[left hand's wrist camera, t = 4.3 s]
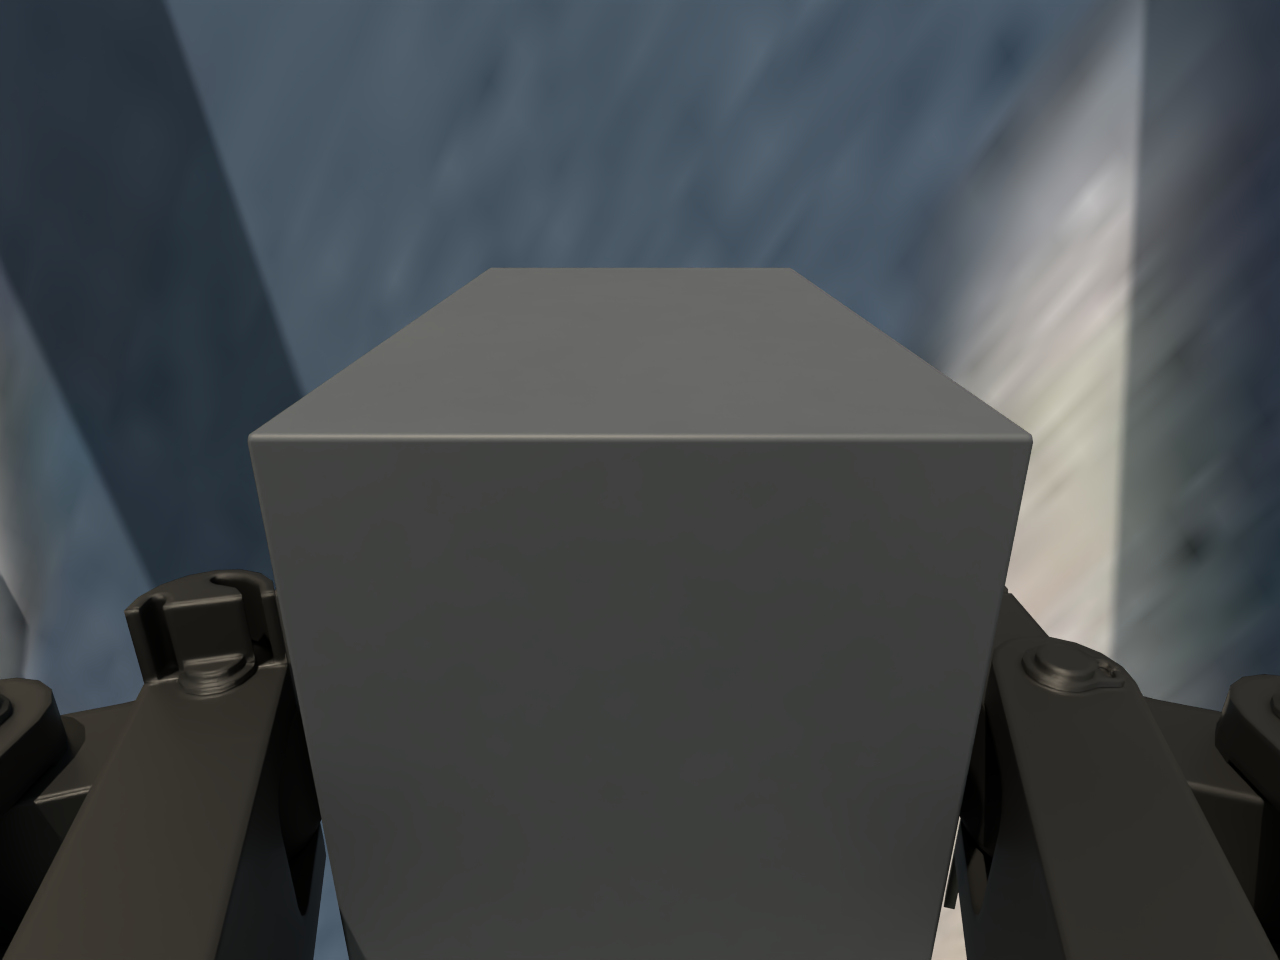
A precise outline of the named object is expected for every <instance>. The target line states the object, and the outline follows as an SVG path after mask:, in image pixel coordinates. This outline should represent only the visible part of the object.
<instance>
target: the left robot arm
mask: <svg viewBox="0 0 1280 960" xmlns="http://www.w3.org/2000/svg"><path fill="white" fill-rule="evenodd" d="M124 613H125V617H126V620H127V624H128V627H129V631H130V634H131V638H132V641H133V645H134V648H135V652H136V656H137V659H138V663H139V666H140V670H141V673H142V677H143V680H144V685H143V687H142V689H141V691H140V693H139V695H138V697H137V699H136V700H135V701H131V702H127V703H123V704H117V705H112V706H107V707H102V708H96V709H91V710H86V711H81V712H75V713H70V714H65V715H60V713H59V710H58V707H57V704H56V701H55V698H54V695H53V692H52V689H51V688H49V687H48V686H46V685H45V684H43V683H42V682H41V681H39V680H31V679H23V678H11V679H2V680H0V960H313V957H314V949H315V941H316V933H317V925H318V917H319V909H320V901H321V893H322V885H323V877H324V869H325V860H326V852H325V845H324V839H323V834H322V829H321V824H320V821H321V819H322V818H321V813H320V808H319V803H318V798H317V793H316V788H315V783H314V778H313V773H312V767H311V762H310V757H309V752H308V747H307V742H306V737H305V732H304V727H303V722H302V717H301V711H300V706H299V701H298V696H297V691H296V686H295V681H294V676H293V671H292V666H291V661H290V655H289V650H288V645H287V640H286V635H285V630H284V625H283V620H282V615H281V610H280V604H279V599H278V594H277V589H275V591H274V586H273V581H271V580H270V579H269V578H267V577H266V576H264V575H263V574H261V573H257V572H252V571H247V570H242V569H239V570H214V571H209V572H204V573H198V574H193V575H188V576H185V577H182V578H179V579H176V580H173V581H170V582H168V583H165V584H162V585H160V586H158V587H156V588H154V589H152V590H150V591H149V592H147V593H145V594H143V595H141V596H140V597H138V598H137V599H136V600H135V601H134V602H133V603H132V604H131V605H130V606H129V607H128V608H127V609H126V610H125V611H124ZM959 816H960V818H961V819H960V824H959V829H958V834H957V839H956V844H955V849H954V854H953V859H952V864H951V869H950V874H949V879H948V884H947V889H946V896H945V902H944V907H947V908H951V909H955V905H956V900H957V895H958V893H959V899H960V907H961V915H962V923H963V931H964V939H965V947H966V955H967V960H1280V676H1276V675H1268V674H1263V675H1254V676H1246V677H1242V678H1241V679H1239V680H1238V681H1236V682H1235V683H1233V684H1232V685H1231V686H1230V689H1229V692H1228V695H1227V698H1226V701H1225V704H1224V707H1223V710H1222V712H1219V711H1214V710H1208V709H1203V708H1198V707H1193V706H1187V705H1182V704H1177V703H1171V702H1166V701H1161V700H1156V699H1152V698H1148V697H1144V696H1143V695H1142V693H1141V691H1140V690H1139V688H1138V686H1137V684H1136V682H1135V681H1134V680H1133V679H1132V677H1131V676H1130V675H1129V674H1128V673H1127V671H1126V670H1125V669H1124V668H1123V667H1122V666H1120V665H1119V664H1117V663H1116V662H1114V661H1113V660H1111V659H1110V658H1108V657H1107V656H1105V655H1104V654H1102V653H1100V652H1097V651H1095V650H1092V649H1090V648H1088V647H1085V646H1083V645H1080V644H1078V643H1075V642H1070V641H1066V640H1061V639H1057V638H1052V637H1049V636H1048V635H1047V634H1046V633H1045V632H1044V630H1043V629H1042V628H1041V627H1040V626H1039V625H1038V623H1037V622H1036V621H1035V620H1034V619H1033V618H1032V617H1031V615H1030V614H1029V613H1028V612H1027V611H1026V610H1025V608H1024V607H1023V606H1022V605H1021V604H1020V603H1019V601H1018V600H1017V599H1016V598H1015V597H1014V596H1013V595H1012V593H1008V589H1007V588H1006V586H1005V587H1004V592H1003V597H1002V602H1001V607H1000V612H999V617H998V622H997V627H996V632H995V637H994V642H993V648H992V653H991V658H990V663H989V668H988V673H987V678H986V683H985V688H984V693H983V698H982V703H981V709H980V714H979V719H978V724H977V729H976V734H975V739H974V744H973V749H972V754H971V759H970V764H969V770H968V775H967V780H966V785H965V790H964V795H963V800H962V805H961V810H960V815H959Z"/></svg>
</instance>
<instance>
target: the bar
mask: <svg viewBox="0 0 1280 960" xmlns="http://www.w3.org/2000/svg"><path fill="white" fill-rule="evenodd" d="M1032 444H1033V439H1032V435H1031V434H1029V433H1028V432H1027V431H1025V430H1024V429H1022V428H1021V427H1019V426H1018V425H1016V424H1015V423H1014V422H1012V421H1011V420H1009V419H1008V418H1006V417H1005V416H1003V415H1002V414H1001V413H999V412H998V411H996V410H995V409H993V408H992V407H991V406H989V405H988V404H986V403H985V402H983V401H982V400H980V399H979V398H978V397H976V396H975V395H973V394H972V393H970V392H969V391H967V390H966V389H965V388H963V387H962V386H960V385H959V384H957V383H956V382H954V381H953V380H952V379H950V378H949V377H947V376H946V375H944V374H943V373H941V372H940V371H939V370H937V369H936V368H934V367H933V366H931V365H930V364H928V363H927V362H926V361H924V360H923V359H921V358H920V357H918V356H917V355H915V354H914V353H913V352H911V351H910V350H908V349H907V348H905V347H904V346H902V345H901V344H900V343H898V342H897V341H895V340H894V339H892V338H891V337H889V336H888V335H887V334H885V333H884V332H882V331H881V330H879V329H878V328H876V327H875V326H874V325H872V324H871V323H869V322H868V321H866V320H865V319H863V318H862V317H861V316H859V315H858V314H856V313H855V312H853V311H852V310H850V309H849V308H848V307H846V306H845V305H843V304H842V303H840V302H839V301H837V300H836V299H835V298H833V297H832V296H830V295H829V294H827V293H826V292H824V291H823V290H822V289H820V288H819V287H817V286H816V285H814V284H813V283H811V282H810V281H809V280H807V279H806V278H804V277H803V276H801V275H800V274H798V273H797V272H796V271H794V270H793V269H791V268H490V269H488V270H487V271H485V272H484V273H482V274H481V275H479V276H478V277H477V278H475V279H474V280H472V281H471V282H469V283H468V284H466V285H465V286H464V287H462V288H461V289H459V290H458V291H456V292H455V293H453V294H452V295H450V296H449V297H448V298H446V299H445V300H443V301H442V302H440V303H439V304H437V305H436V306H435V307H433V308H432V309H430V310H429V311H427V312H426V313H424V314H423V315H422V316H420V317H419V318H417V319H416V320H414V321H413V322H411V323H410V324H409V325H407V326H406V327H404V328H403V329H401V330H400V331H398V332H397V333H395V334H394V335H393V336H391V337H390V338H388V339H387V340H385V341H384V342H382V343H381V344H380V345H378V346H377V347H375V348H374V349H372V350H371V351H369V352H368V353H367V354H365V355H364V356H362V357H361V358H359V359H358V360H356V361H355V362H353V363H352V364H351V365H349V366H348V367H346V368H345V369H343V370H342V371H340V372H339V373H338V374H336V375H335V376H333V377H332V378H330V379H329V380H327V381H326V382H325V383H323V384H322V385H320V386H319V387H317V388H316V389H314V390H313V391H312V392H310V393H309V394H307V395H306V396H304V397H303V398H301V399H300V400H298V401H297V402H296V403H294V404H293V405H291V406H290V407H288V408H287V409H285V410H284V411H283V412H281V413H280V414H278V415H277V416H275V417H274V418H272V419H271V420H270V421H268V422H267V423H265V424H264V425H262V426H261V427H259V428H258V429H256V430H255V431H254V432H252V433H251V434H249V437H248V447H249V452H250V457H251V462H252V467H253V472H254V477H255V482H256V487H257V492H258V498H259V503H260V508H261V513H262V518H263V523H264V528H265V533H266V538H267V543H268V548H269V554H270V559H271V564H272V569H273V574H274V579H275V584H276V589H277V594H278V599H279V604H280V610H281V615H282V620H283V625H284V630H285V635H286V640H287V645H288V650H289V655H290V661H291V666H292V671H293V676H294V681H295V686H296V691H297V696H298V701H299V706H300V711H301V717H302V722H303V727H304V732H305V737H306V742H307V747H308V752H309V757H310V762H311V767H312V773H313V778H314V783H315V788H316V793H317V798H318V803H319V808H320V813H321V818H322V823H323V829H324V834H325V839H326V844H327V849H328V854H329V859H330V864H331V869H332V874H333V879H334V885H335V890H336V895H337V900H338V905H339V910H340V915H341V920H342V925H343V930H344V935H345V941H346V946H347V951H348V956H349V960H931V958H932V952H933V947H934V942H935V937H936V932H937V927H938V922H939V917H940V912H941V907H942V902H943V897H944V892H945V886H946V881H947V876H948V871H949V866H950V861H951V856H952V851H953V846H954V841H955V836H956V831H957V825H958V820H959V815H960V810H961V805H962V800H963V795H964V790H965V785H966V780H967V775H968V770H969V764H970V759H971V754H972V749H973V744H974V739H975V734H976V729H977V724H978V719H979V714H980V709H981V703H982V698H983V693H984V688H985V683H986V678H987V673H988V668H989V663H990V658H991V653H992V648H993V642H994V637H995V632H996V627H997V622H998V617H999V612H1000V607H1001V602H1002V597H1003V592H1004V587H1005V582H1006V576H1007V571H1008V566H1009V561H1010V556H1011V551H1012V546H1013V541H1014V536H1015V531H1016V526H1017V521H1018V515H1019V510H1020V505H1021V500H1022V495H1023V490H1024V485H1025V480H1026V475H1027V470H1028V465H1029V460H1030V454H1031V449H1032Z"/></svg>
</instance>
